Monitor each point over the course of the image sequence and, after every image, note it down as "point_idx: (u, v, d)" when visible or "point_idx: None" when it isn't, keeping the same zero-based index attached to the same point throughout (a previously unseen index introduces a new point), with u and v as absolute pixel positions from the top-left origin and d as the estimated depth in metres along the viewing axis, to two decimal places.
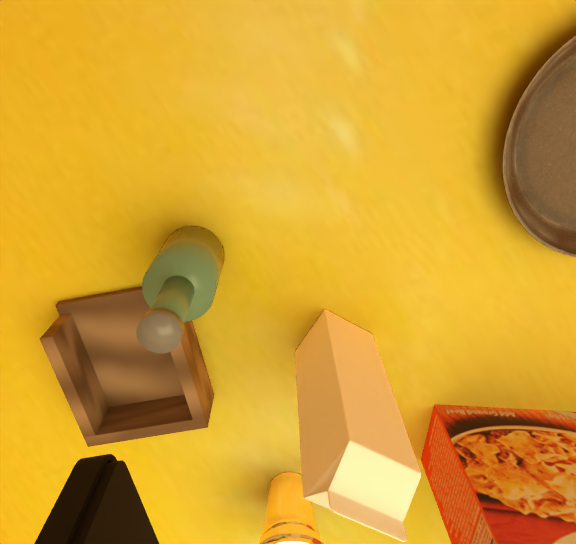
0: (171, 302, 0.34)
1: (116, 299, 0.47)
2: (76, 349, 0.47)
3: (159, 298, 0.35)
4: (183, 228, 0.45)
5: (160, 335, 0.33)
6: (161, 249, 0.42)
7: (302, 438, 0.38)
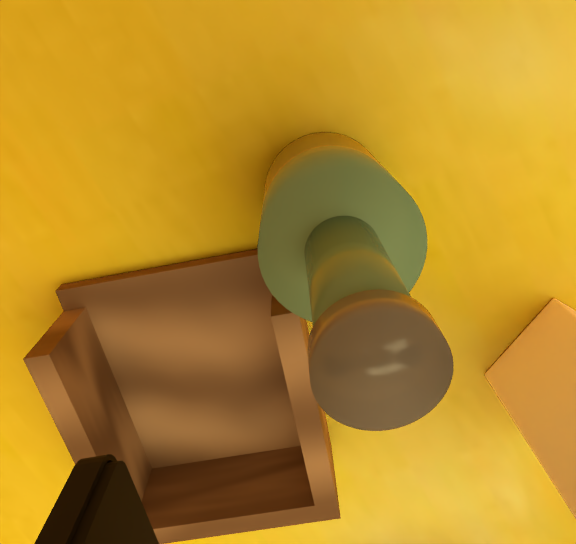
0: (385, 274, 0.12)
1: (172, 280, 0.25)
2: (94, 374, 0.25)
3: (341, 264, 0.12)
4: (310, 135, 0.22)
5: (385, 377, 0.10)
6: (282, 168, 0.19)
7: None
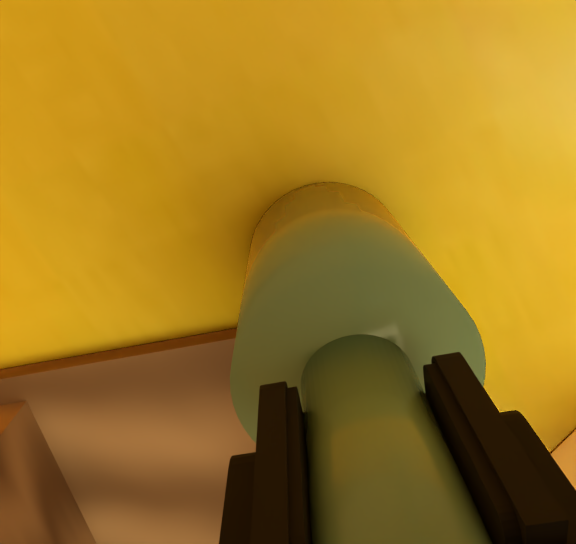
0: (450, 514, 0.06)
1: (136, 368, 0.19)
2: (36, 490, 0.19)
3: (365, 478, 0.07)
4: (309, 187, 0.17)
5: None
6: (269, 241, 0.14)
7: None
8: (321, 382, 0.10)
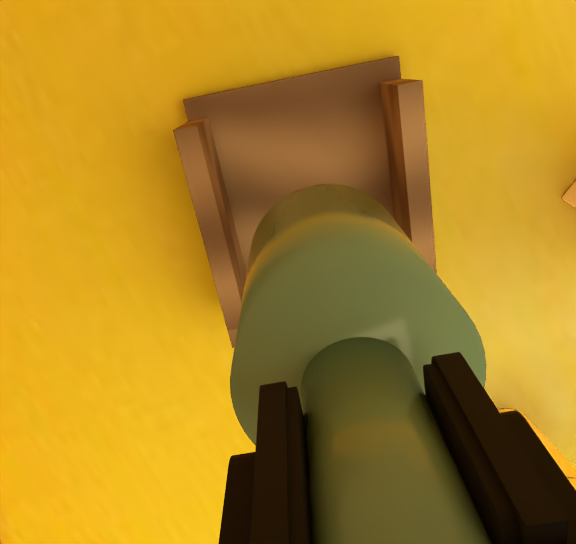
0: (452, 520, 0.06)
1: (289, 89, 0.27)
2: (218, 176, 0.28)
3: (367, 482, 0.07)
4: (309, 189, 0.17)
5: None
6: (269, 243, 0.14)
7: None
8: (322, 385, 0.10)
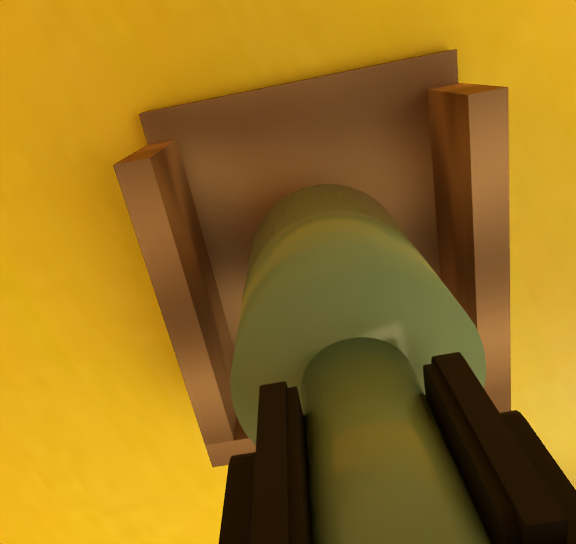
0: (451, 520, 0.06)
1: (293, 98, 0.19)
2: (190, 225, 0.19)
3: (367, 483, 0.07)
4: (309, 189, 0.17)
5: None
6: (269, 244, 0.14)
7: None
8: (322, 386, 0.10)
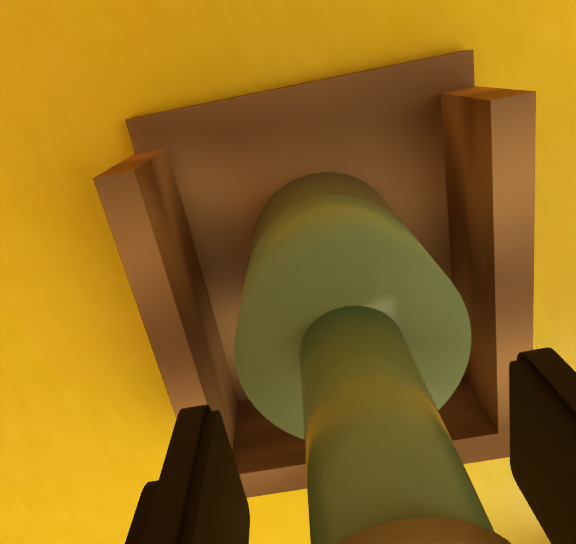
0: (429, 447, 0.07)
1: (294, 103, 0.17)
2: (181, 241, 0.17)
3: (355, 420, 0.08)
4: (308, 177, 0.18)
5: None
6: (271, 225, 0.15)
7: None
8: (318, 347, 0.10)
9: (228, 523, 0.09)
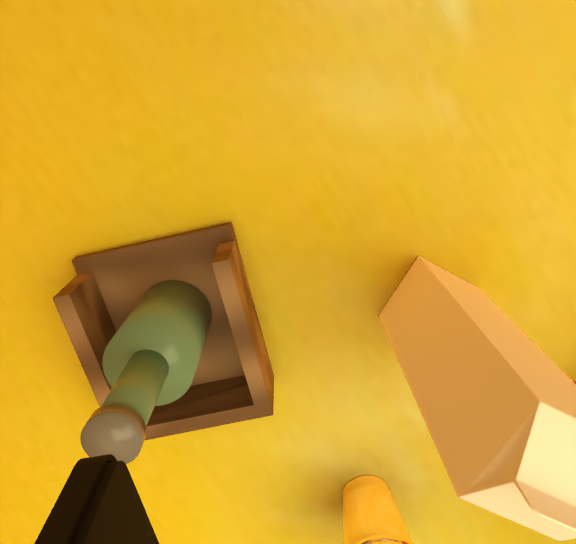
0: (131, 392, 0.26)
1: (151, 250, 0.36)
2: (99, 317, 0.36)
3: (116, 386, 0.27)
4: (160, 283, 0.37)
5: (113, 442, 0.24)
6: (130, 313, 0.34)
7: (428, 414, 0.27)
8: (125, 365, 0.29)
9: None
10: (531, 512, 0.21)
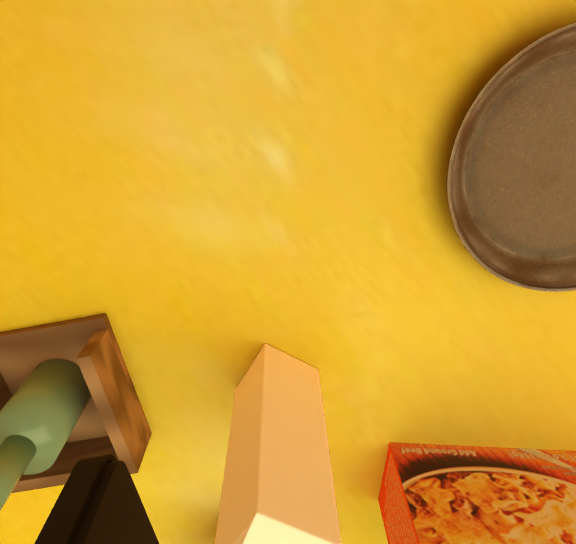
0: None
1: (37, 335, 0.44)
2: None
3: None
4: (44, 363, 0.44)
5: None
6: None
7: (222, 496, 0.35)
8: None
9: None
10: None
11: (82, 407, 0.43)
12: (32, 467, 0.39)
